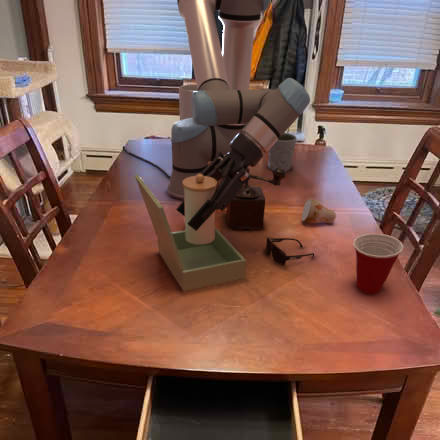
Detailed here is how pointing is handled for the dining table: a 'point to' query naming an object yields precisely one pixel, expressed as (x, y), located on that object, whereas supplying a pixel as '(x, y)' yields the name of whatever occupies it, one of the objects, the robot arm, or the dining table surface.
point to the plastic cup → (375, 260)
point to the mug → (317, 213)
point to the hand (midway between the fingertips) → (186, 219)
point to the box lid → (159, 221)
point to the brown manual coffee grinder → (250, 204)
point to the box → (204, 262)
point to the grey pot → (282, 152)
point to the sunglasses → (278, 253)
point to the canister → (198, 207)
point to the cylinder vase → (186, 100)
